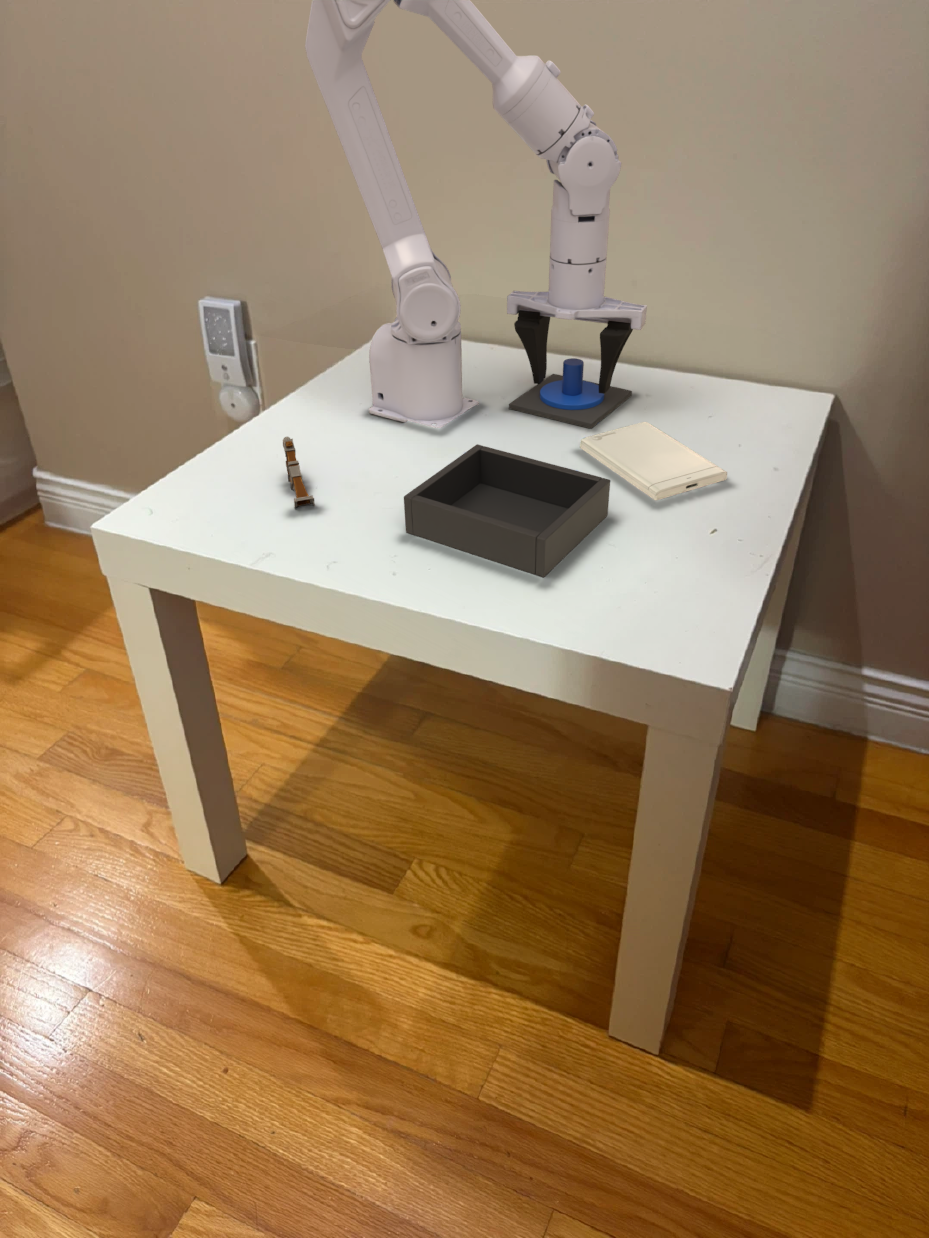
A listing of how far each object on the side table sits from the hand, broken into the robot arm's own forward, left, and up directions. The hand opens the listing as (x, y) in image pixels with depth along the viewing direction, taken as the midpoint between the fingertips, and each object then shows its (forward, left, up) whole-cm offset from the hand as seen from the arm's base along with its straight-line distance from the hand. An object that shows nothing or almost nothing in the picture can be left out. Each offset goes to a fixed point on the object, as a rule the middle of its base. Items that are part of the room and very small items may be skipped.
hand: (571, 385), depth 104 cm
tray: (+8, -27, -2) cm, 28 cm away
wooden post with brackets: (-12, -32, -2) cm, 34 cm away
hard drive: (+14, -10, -2) cm, 17 cm away
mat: (0, 0, -2) cm, 2 cm away
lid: (0, 0, -1) cm, 1 cm away
